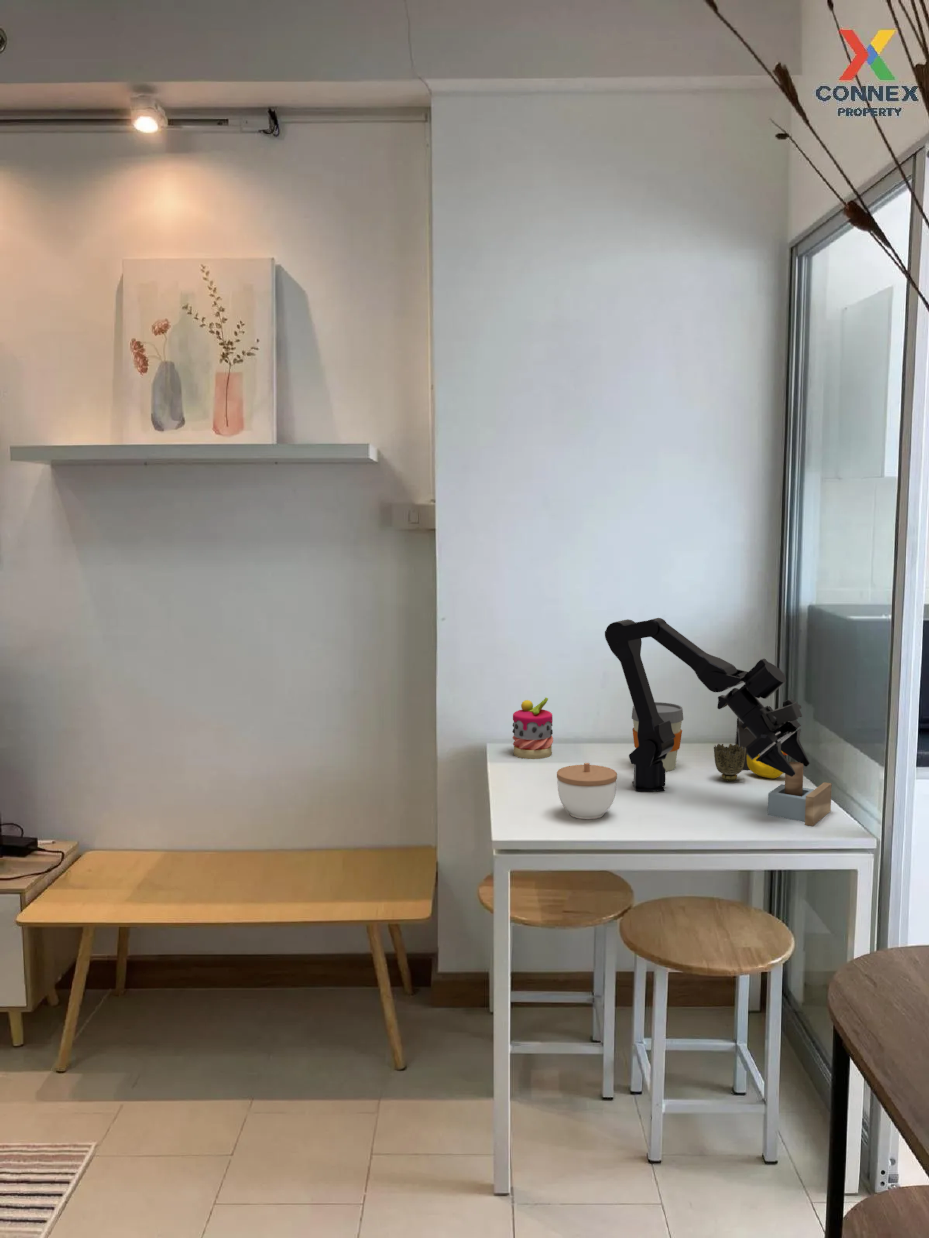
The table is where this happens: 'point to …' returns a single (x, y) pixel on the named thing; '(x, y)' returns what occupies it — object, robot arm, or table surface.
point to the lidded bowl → (586, 790)
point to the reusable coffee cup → (675, 717)
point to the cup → (729, 760)
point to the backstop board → (818, 804)
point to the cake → (532, 731)
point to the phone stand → (743, 739)
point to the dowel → (795, 780)
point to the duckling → (763, 768)
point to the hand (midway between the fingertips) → (801, 770)
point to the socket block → (787, 804)
